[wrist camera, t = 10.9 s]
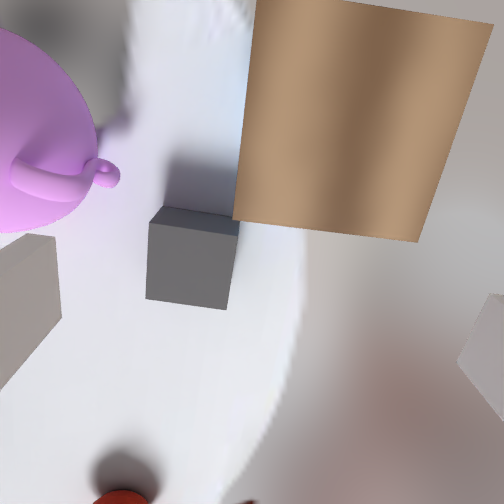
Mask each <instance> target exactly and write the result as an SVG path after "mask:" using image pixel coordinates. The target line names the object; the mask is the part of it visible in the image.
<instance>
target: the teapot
mask: <svg viewBox="0 0 504 504" xmlns="http://www.w3.org/2000/svg"><path fill="white" fill-rule="evenodd" d="M97 156H98V148H97V137H96V131H95V127H94V123H93V120H92V116H91V114H90V112H89V109H88V107H87V104H86V102H85V101H84V99H83V97H82V95H81V93H80V92H79V90H78V88H77V87H76V85H75V84H74V83H73V81H72V80H71V78H70V77H69V76H68V75H67V74H66V73H65V72H64V71H63V69H62V68H61V67H60V66H59V65H58V64H57V63H56V62H55V61H54V60H53V59H52V58H51V57H50V56H49V55H47V54H46V53H45V52H44V51H42V50H41V49H40V48H38V47H37V46H36V45H34V44H33V43H31V42H29V41H28V40H26V39H24V38H23V37H21V36H19V35H17V34H14V33H12V32H10V31H8V30H5V29H2V28H0V233H12V232H20V231H26V230H31V229H35V228H38V227H42V226H46V225H48V224H51V223H53V222H55V221H57V220H59V219H61V218H63V217H64V216H66V215H67V214H69V213H70V212H72V211H73V210H74V209H75V208H76V207H77V206H78V205H79V204H80V203H81V202H82V200H83V199H84V198H85V196H86V194H87V193H88V191H89V189H90V187H91V185H92V182H94V183H95V184H97V185H100V186H102V187H106V188H113V187H115V186H116V185H117V184H118V182H119V180H120V171H119V169H118V168H117V167H116V166H115V165H114V164H112V163H111V162H109V161H107V160H104V159H100V158H97Z"/></svg>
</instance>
